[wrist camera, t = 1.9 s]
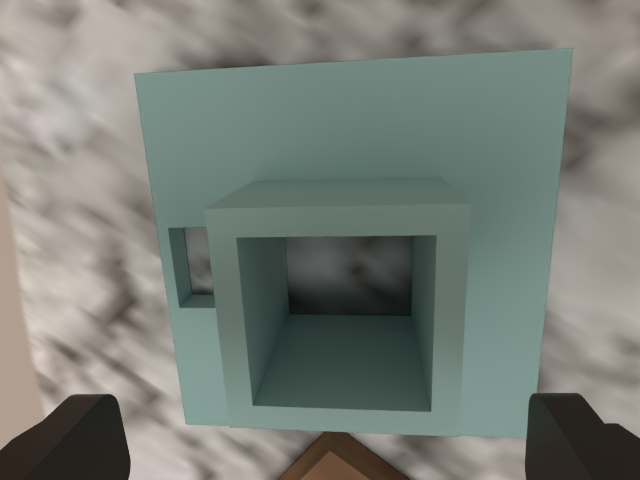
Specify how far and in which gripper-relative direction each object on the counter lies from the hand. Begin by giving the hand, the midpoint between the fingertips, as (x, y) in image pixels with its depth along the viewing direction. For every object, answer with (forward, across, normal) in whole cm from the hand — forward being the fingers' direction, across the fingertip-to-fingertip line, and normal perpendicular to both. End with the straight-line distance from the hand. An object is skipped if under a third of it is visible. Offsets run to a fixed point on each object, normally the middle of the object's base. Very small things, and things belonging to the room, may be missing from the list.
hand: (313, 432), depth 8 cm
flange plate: (+8, 0, -1) cm, 8 cm away
